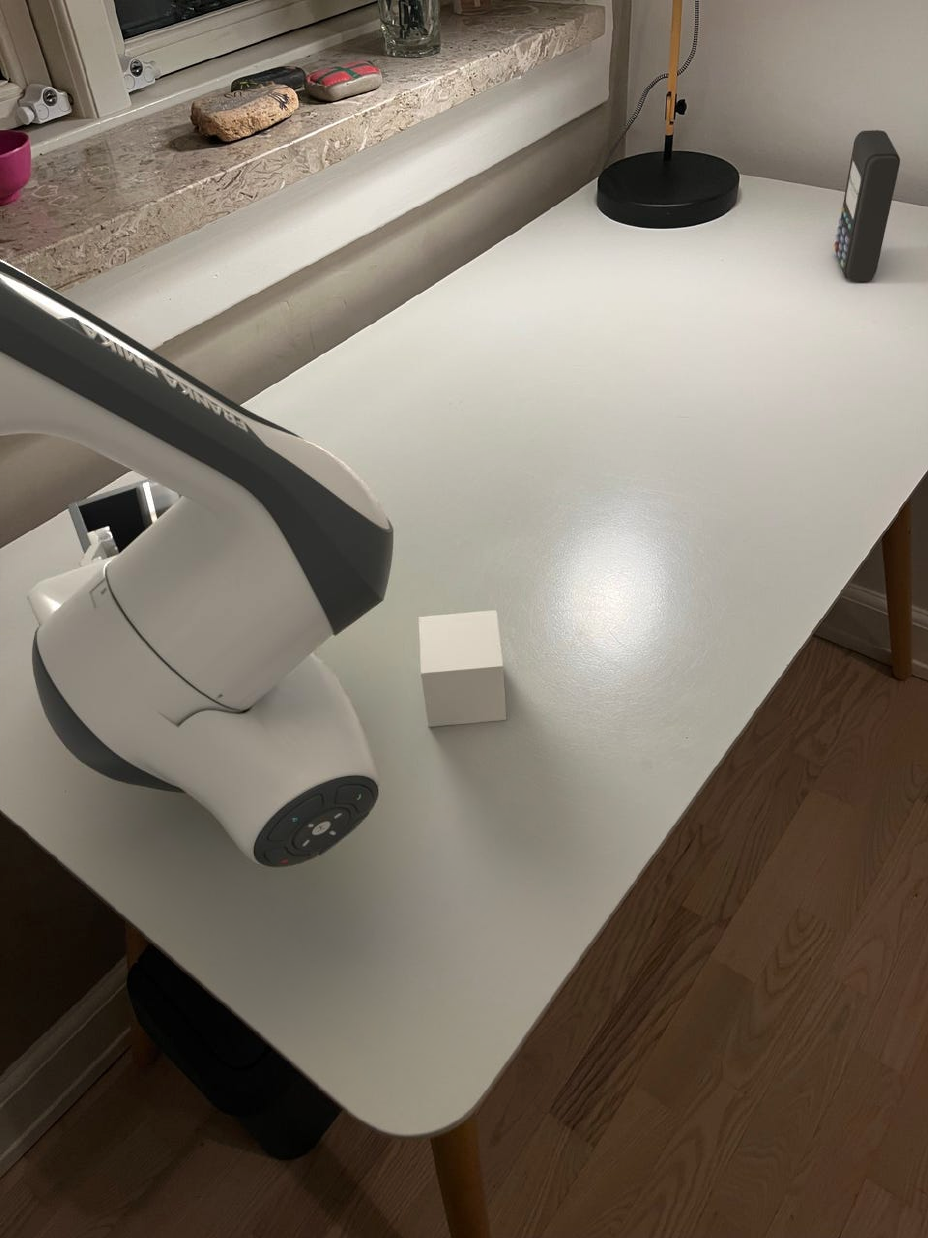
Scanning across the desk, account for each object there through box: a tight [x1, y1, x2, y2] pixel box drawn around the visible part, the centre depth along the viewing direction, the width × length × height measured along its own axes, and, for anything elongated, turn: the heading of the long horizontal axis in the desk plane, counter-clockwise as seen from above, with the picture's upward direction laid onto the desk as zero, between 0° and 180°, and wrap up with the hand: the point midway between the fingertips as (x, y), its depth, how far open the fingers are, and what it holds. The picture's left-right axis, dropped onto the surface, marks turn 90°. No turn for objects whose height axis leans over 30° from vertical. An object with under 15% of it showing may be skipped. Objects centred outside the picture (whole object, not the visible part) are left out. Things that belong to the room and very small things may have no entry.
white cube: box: [418, 609, 507, 728], centre depth 79 cm, size 6×6×6 cm
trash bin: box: [66, 478, 154, 554], centre depth 87 cm, size 14×14×10 cm
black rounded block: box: [136, 482, 182, 529], centre depth 86 cm, size 7×4×11 cm, turn 20°
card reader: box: [833, 129, 901, 282], centre depth 123 cm, size 9×4×15 cm, turn 174°
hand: (168, 514), depth 71 cm, fingers open, 8 cm apart
